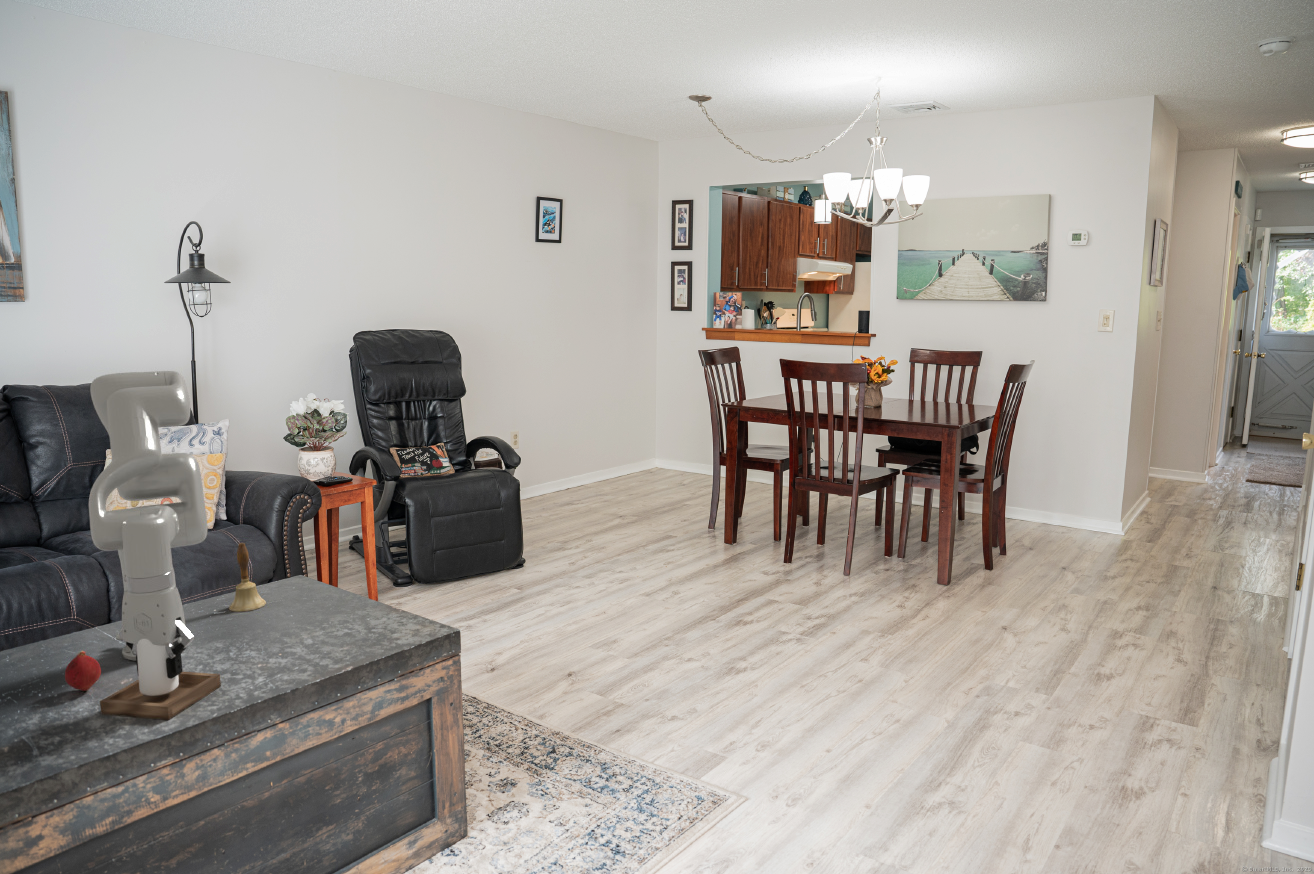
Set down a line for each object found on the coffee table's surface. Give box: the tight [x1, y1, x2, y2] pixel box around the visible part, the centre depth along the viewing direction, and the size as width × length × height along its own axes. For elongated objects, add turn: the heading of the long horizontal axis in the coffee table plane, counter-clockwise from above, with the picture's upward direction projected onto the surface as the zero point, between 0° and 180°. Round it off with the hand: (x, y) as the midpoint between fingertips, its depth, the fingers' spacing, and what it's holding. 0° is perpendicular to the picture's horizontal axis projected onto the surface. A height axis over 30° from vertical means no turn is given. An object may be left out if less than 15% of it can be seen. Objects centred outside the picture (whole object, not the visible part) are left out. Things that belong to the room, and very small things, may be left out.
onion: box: [64, 650, 102, 692], centre depth 169 cm, size 6×6×8 cm
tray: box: [99, 670, 222, 721], centre depth 165 cm, size 14×14×2 cm
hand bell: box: [228, 542, 267, 613], centre depth 215 cm, size 8×8×16 cm
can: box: [137, 639, 179, 696], centre depth 164 cm, size 6×6×12 cm
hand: (160, 673), depth 165 cm, fingers closed on can, 5 cm apart
